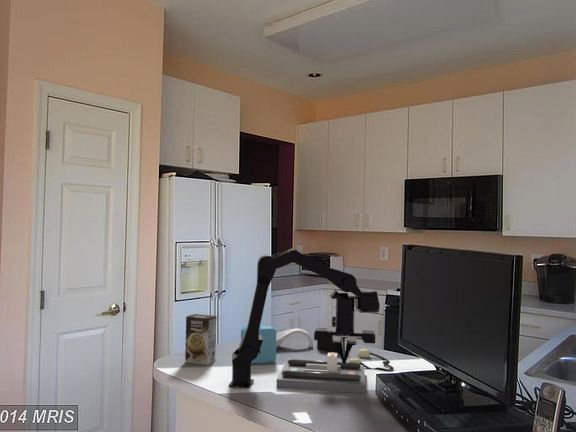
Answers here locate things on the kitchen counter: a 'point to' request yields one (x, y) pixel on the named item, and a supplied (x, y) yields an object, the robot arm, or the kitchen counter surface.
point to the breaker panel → (322, 381)
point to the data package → (265, 345)
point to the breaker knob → (332, 361)
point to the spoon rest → (284, 334)
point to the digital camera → (329, 345)
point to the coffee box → (200, 339)
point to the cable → (365, 354)
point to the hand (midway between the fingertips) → (344, 363)
